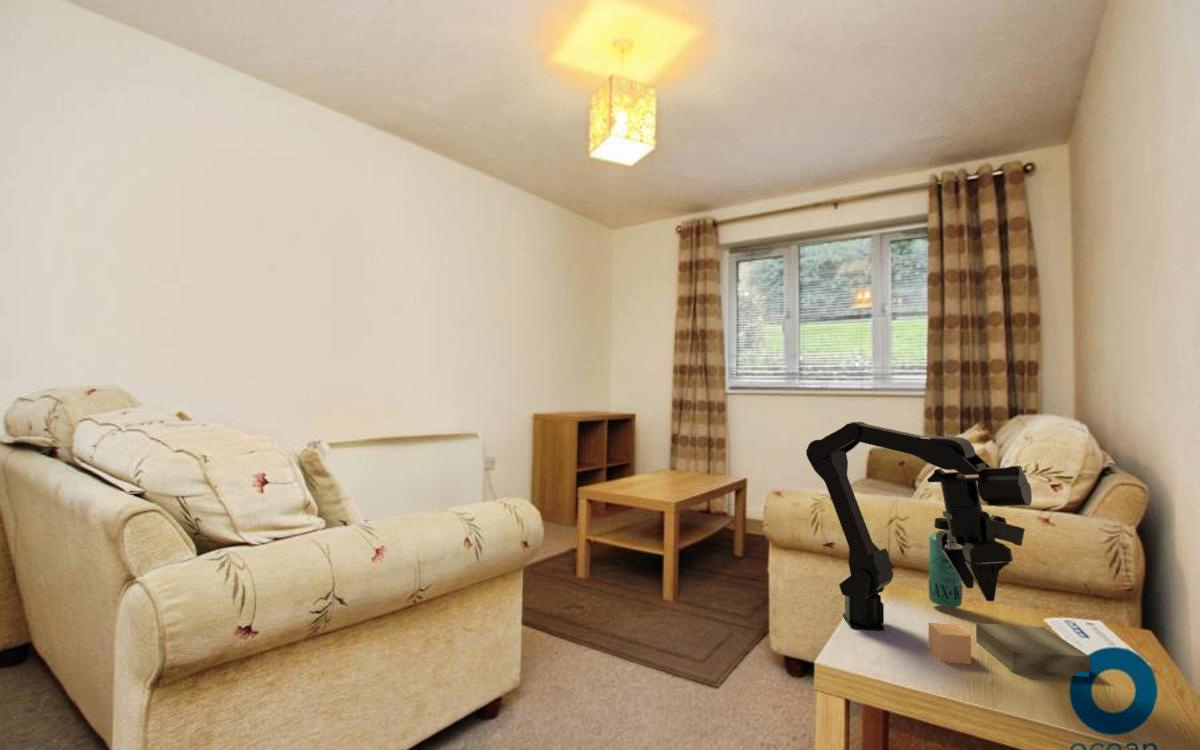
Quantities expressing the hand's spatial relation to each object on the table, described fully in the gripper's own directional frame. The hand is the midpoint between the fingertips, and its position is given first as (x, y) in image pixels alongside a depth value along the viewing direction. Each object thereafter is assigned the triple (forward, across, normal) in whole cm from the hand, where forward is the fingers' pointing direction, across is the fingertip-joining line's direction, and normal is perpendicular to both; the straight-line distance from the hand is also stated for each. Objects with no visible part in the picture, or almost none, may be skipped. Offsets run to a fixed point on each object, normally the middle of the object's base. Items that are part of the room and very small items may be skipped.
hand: (979, 594), depth 101 cm
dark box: (+13, +5, -7) cm, 16 cm away
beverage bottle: (+10, +27, -1) cm, 29 cm away
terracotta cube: (+11, +2, +6) cm, 13 cm away
